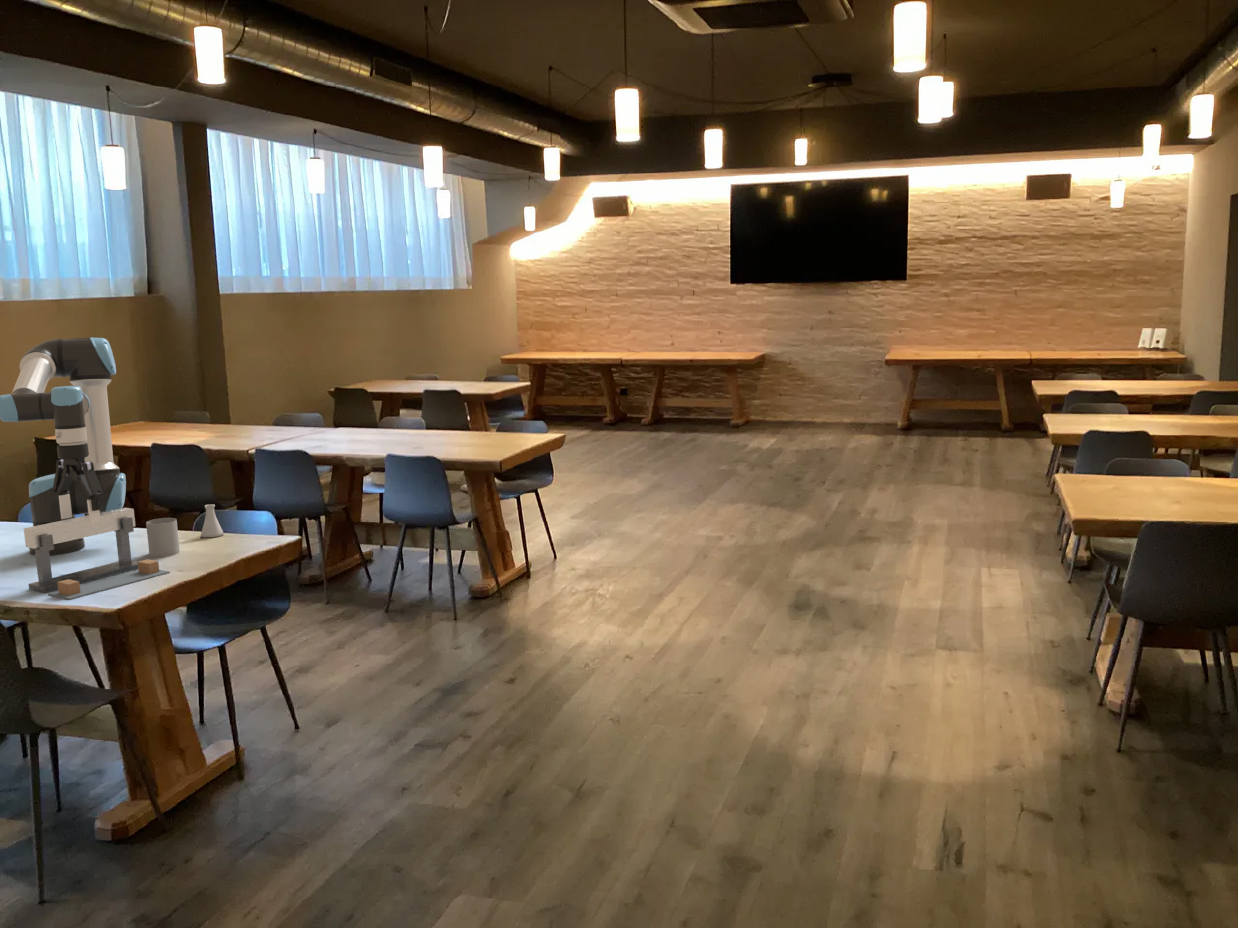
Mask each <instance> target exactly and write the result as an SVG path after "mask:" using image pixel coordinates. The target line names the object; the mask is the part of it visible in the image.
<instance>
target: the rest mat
mask: <svg viewBox="0 0 1238 928" xmlns="http://www.w3.org/2000/svg"><path fill="white" fill-rule="evenodd" d="M137 562H138V569H137V570H134V571H130V572H126V573H122V574H118V575H114V576H110V577H106V578H103V579H99V580H95V581H91V582H87V583H83V584H79V581H74V580H70V579H67V580H63V581H59V582H57V583H58V590H56V591H52V592H49V593H47V595H48V596H52V597H55V598H60V599H63V600H68V601H71V600H74V599H78V598H82V597H85V596H88V595H89V594H90V595H93V594H96V592H97V593H100V591H101V592H104V591H103V590H105V591H109V590H111V589H115V588H119V587H123V586H127V585H130V584H134V583H137V582H140V581H145V580H148V579H152V578H156V576H157V577H160V576H164V575H166V574H167V573H168V574H171V572H170V571H167V570H164V569H160V566H159V561H158V560H153V559H148V558H147V559H144V560H139V561H137ZM163 574H164V575H163ZM168 574H167V575H168Z"/></svg>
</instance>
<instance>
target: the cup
mask: <svg viewBox="0 0 1238 928" xmlns="http://www.w3.org/2000/svg"><path fill="white" fill-rule="evenodd" d="M145 525H146V535H147V536H146V537H147V544H148V545H147V546H148V555H149V557H152V558H164V557H170V556H175V555H177V554H179V553H180V552H181V551H180V542H179V541H180V539H179V530H178V529H179V528H178V521H177V518H173V517H162V518H154V519H151V520H148V521H146V522H145Z"/></svg>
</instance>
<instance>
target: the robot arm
mask: <svg viewBox="0 0 1238 928" xmlns="http://www.w3.org/2000/svg"><path fill="white" fill-rule="evenodd" d="M113 354H114V353H113V350H112V347H111V344H110V342H109V341H108V339H107V338H104V337H92V336H91V337H78V338H77V337H75V338H56V339H55V338H54V339H49V340H45V341H43V342H41V343H38V344H36V345H34V346H33V347H31V348H30V349H29V350H28V351H26V352H25V353H24V355H22V357H21V359H20V362H19V370H20V372H19V375H18V377H17V380H16V382H15V384H14V387H13V389H12V391H11V393H7V394H1V395H0V421H1V422H3V423H4V422H5V423H8V422H9V423H12V422H14V423H20V422H32V421H33V422H34V421H46V420H47V421H48V420H50V421H51V420H53V423H54V430H55V433H54V436H55V441H56V443H57V444H58V445H57V446H56V451H57V458H58V459H57V460H56V461H55V467H56V469H55V473H53V474H48V475H44V476H40V477H37V478H34V479H33V480H31V481H30V482H29V484H28V498H29V504H30V512H31V518H32V519H31V520H32V527H33V526H38V525H43V524H48V523H53V522H58V521H63V520H67V519H72V518H76V516H77V515H89V523H96V522H101V521H100V513H102V512H107V511H112V510H116V509H121V508H124V504H125V500H126V493H127V492H126V490H127V479H126V478H127V477H126V474H125V473H123V472H121V471H120V469H121V468H120V467H119V466H118V465H117V464H115V462H114V454H113V443H112V432H111V430H112V429H111V420H110V419H111V418H110V408H109V399H108V397H109V396H108V385H109V384H111V382H112V376H114V375H116V374H117V368H116V367H117V365H116V361H115V357H114V355H113ZM52 378H69V384H71V385H64V386H55V387H52V389H51V390H50V391H49V392H45V391H46V389H47V388H46V387H47V386H48V382H49V381H50V380H51V379H52ZM84 538H85V537H84ZM84 538H80V539H75V540H71V541H66V542H62V543H57V544H54V550H50V551H49V555H50V556H56V555H63V554H68V553H74V552H76V551H80V550H82V549H84V548H85V546H86V545H85V539H84ZM28 549H29V555H32V556H36V555H35V549H30V548H29V547H28Z"/></svg>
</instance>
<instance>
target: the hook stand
mask: <svg viewBox="0 0 1238 928" xmlns="http://www.w3.org/2000/svg"><path fill="white" fill-rule="evenodd" d="M122 524H123V529H120V530H116V531H114V532H115V540H116V548H117V550H116V551H117V557H118V558H117V559H118V561H116V562H111V563H107V564H103V565H100V566H95V567H94V566H93V567H90V568H88V569H87V568H86V569H83V570H79V571H75V572H71V573H67V574H62V575H58V576H55V577H53V573H52V566H51V565H52V564H51V557H50V556H51V555H49V551H50V550H54V544H53V536H52V535H51V534H49V535H44V536H41V541H42V547H39V548H30V549H35V555H34V556H35V562H36V570H37V572H36V573H37V578H38V579H37V581H35V582H31V583H28V590H30V591H34V592H38V593H43V594H48V593H51V592H55V591H58V583H57V582H59V581H63V580H67V579H70V580H74V581H79V584H80V585H82V584H85V583H89V582H93V581H97V580H101V579H105V578H109V577H112V576H116V575H120V574H124V573H128V572H132V571H136V570H139V569H138V562H139V561H133V560H132V553H131V544H130V535H129V533H133V532H134V531H135V529H134V527H133V519H132V518H131V517H129V518H124V519H122Z"/></svg>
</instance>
